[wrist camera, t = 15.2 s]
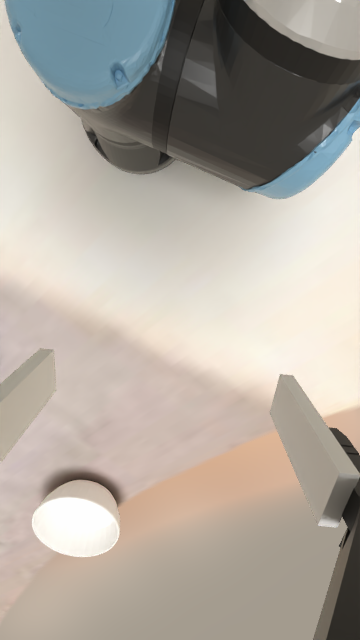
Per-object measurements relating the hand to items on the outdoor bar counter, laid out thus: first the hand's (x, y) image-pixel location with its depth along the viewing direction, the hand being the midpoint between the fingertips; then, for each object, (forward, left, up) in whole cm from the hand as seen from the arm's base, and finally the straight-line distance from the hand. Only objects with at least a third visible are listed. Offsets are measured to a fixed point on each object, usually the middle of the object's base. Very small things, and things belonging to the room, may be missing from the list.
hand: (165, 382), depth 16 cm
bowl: (+53, -16, -32) cm, 65 cm away
